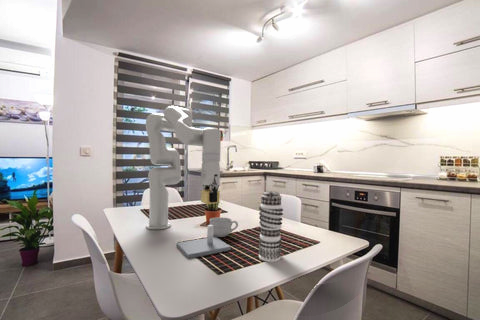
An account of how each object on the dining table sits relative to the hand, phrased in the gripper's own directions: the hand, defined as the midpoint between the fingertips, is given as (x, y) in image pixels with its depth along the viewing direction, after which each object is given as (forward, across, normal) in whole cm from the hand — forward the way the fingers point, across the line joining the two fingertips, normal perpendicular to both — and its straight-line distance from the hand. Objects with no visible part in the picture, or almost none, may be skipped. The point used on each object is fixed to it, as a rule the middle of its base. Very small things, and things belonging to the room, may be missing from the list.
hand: (210, 200), depth 101 cm
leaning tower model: (+20, +20, +17) cm, 33 cm away
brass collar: (+1, 0, 0) cm, 1 cm away
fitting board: (+20, 0, -3) cm, 20 cm away
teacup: (+20, -11, +12) cm, 26 cm away
